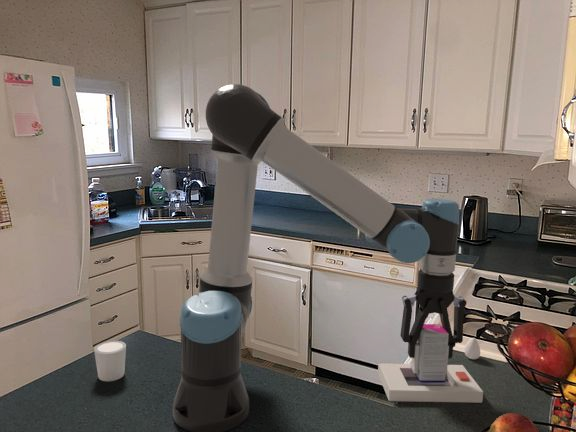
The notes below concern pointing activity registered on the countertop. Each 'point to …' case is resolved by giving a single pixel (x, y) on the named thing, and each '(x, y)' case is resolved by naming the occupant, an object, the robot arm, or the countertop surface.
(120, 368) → the white candle
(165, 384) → the countertop surface
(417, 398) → the socket plate
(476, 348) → the egg
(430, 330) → the supplement box
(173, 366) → the countertop surface
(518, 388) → the countertop surface
